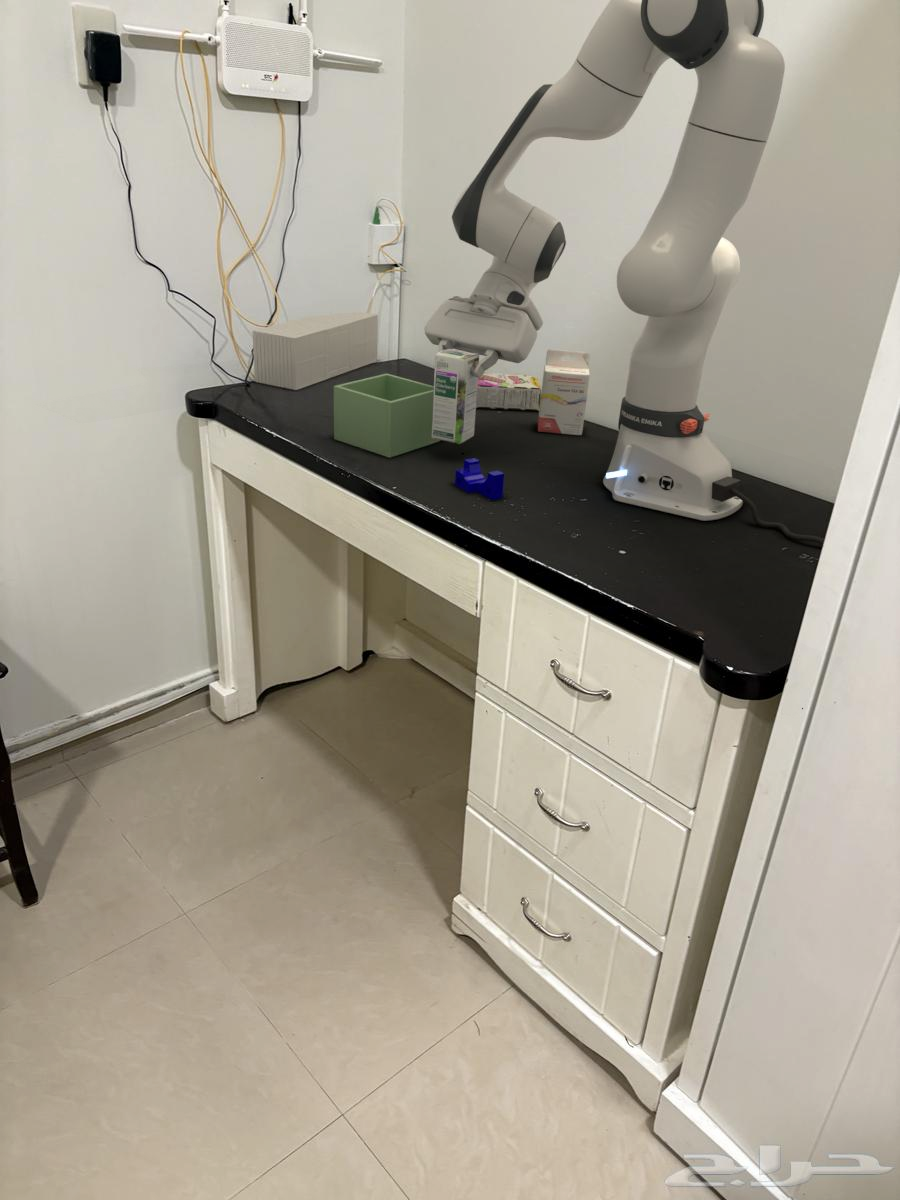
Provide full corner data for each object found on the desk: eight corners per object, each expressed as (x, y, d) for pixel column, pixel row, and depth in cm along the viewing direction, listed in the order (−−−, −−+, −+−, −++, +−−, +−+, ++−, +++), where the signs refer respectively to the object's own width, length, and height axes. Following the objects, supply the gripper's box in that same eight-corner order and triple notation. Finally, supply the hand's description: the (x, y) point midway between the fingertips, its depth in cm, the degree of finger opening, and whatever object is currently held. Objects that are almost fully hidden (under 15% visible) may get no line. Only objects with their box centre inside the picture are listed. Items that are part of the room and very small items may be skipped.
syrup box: (430, 438, 159) (433, 353, 152) (446, 430, 164) (450, 346, 157) (459, 445, 157) (464, 358, 150) (475, 436, 161) (480, 352, 155)
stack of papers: (294, 338, 188) (252, 330, 192) (296, 390, 193) (254, 381, 197) (378, 314, 214) (338, 308, 218) (377, 361, 219) (339, 354, 223)
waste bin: (440, 441, 169) (443, 388, 164) (389, 457, 159) (390, 402, 155) (385, 423, 176) (386, 373, 172) (333, 439, 167) (333, 385, 162)
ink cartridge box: (537, 432, 176) (545, 354, 169) (537, 424, 180) (545, 348, 174) (582, 436, 176) (592, 357, 169) (581, 428, 180) (591, 351, 173)
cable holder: (454, 484, 149) (456, 461, 147) (472, 481, 151) (474, 458, 149) (484, 501, 144) (485, 477, 142) (502, 497, 145) (504, 473, 144)
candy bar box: (459, 369, 195) (537, 374, 196) (458, 393, 198) (534, 397, 198) (460, 383, 185) (542, 388, 186) (459, 408, 188) (540, 412, 188)
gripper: (441, 283, 161) (402, 348, 158) (538, 300, 149) (498, 370, 147) (456, 306, 166) (418, 370, 164) (551, 325, 155) (512, 393, 152)
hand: (457, 370), depth 155 cm, fingers closed on syrup box, 6 cm apart
